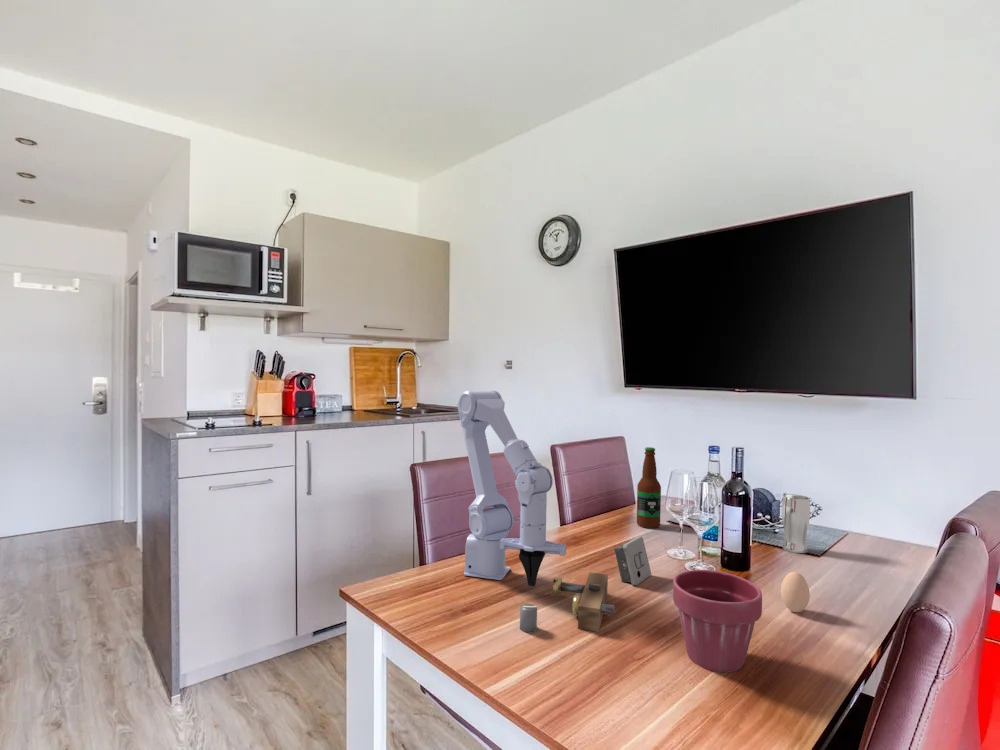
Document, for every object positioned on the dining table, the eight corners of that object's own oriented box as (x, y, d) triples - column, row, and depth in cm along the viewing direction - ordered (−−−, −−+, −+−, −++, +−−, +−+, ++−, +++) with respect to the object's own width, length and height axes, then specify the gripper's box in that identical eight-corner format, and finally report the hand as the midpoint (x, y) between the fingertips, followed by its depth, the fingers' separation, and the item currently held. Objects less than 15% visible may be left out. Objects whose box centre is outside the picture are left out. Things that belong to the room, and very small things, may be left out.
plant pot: (714, 690, 83) (716, 608, 83) (654, 646, 96) (656, 575, 95) (779, 671, 88) (781, 594, 88) (714, 632, 101) (716, 565, 101)
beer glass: (809, 548, 151) (811, 496, 151) (808, 555, 146) (809, 501, 145) (782, 544, 155) (783, 492, 155) (779, 550, 149) (781, 497, 149)
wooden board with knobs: (577, 628, 102) (578, 600, 102) (589, 591, 119) (589, 567, 119) (599, 631, 100) (599, 603, 100) (607, 593, 118) (607, 569, 118)
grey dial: (520, 632, 100) (521, 610, 99) (518, 624, 103) (519, 602, 103) (537, 632, 100) (538, 610, 100) (535, 624, 103) (535, 602, 103)
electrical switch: (635, 587, 122) (632, 546, 122) (614, 583, 125) (612, 543, 125) (652, 576, 129) (649, 537, 130) (632, 572, 132) (629, 534, 133)
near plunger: (572, 616, 105) (572, 599, 105) (574, 609, 108) (574, 592, 108) (613, 622, 103) (613, 605, 103) (614, 615, 106) (615, 598, 106)
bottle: (637, 528, 168) (639, 449, 168) (635, 521, 175) (637, 445, 175) (661, 529, 167) (663, 450, 167) (658, 523, 174) (660, 446, 174)
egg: (815, 616, 109) (816, 576, 109) (792, 618, 108) (793, 577, 108) (796, 605, 114) (797, 566, 114) (774, 606, 113) (775, 567, 113)
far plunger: (552, 596, 114) (553, 580, 114) (555, 590, 118) (555, 574, 118) (590, 601, 112) (590, 585, 112) (592, 595, 115) (592, 579, 115)
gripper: (496, 524, 115) (495, 586, 116) (562, 531, 111) (561, 595, 111) (505, 516, 122) (504, 575, 122) (568, 522, 118) (566, 583, 118)
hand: (532, 584), depth 117 cm, fingers closed
